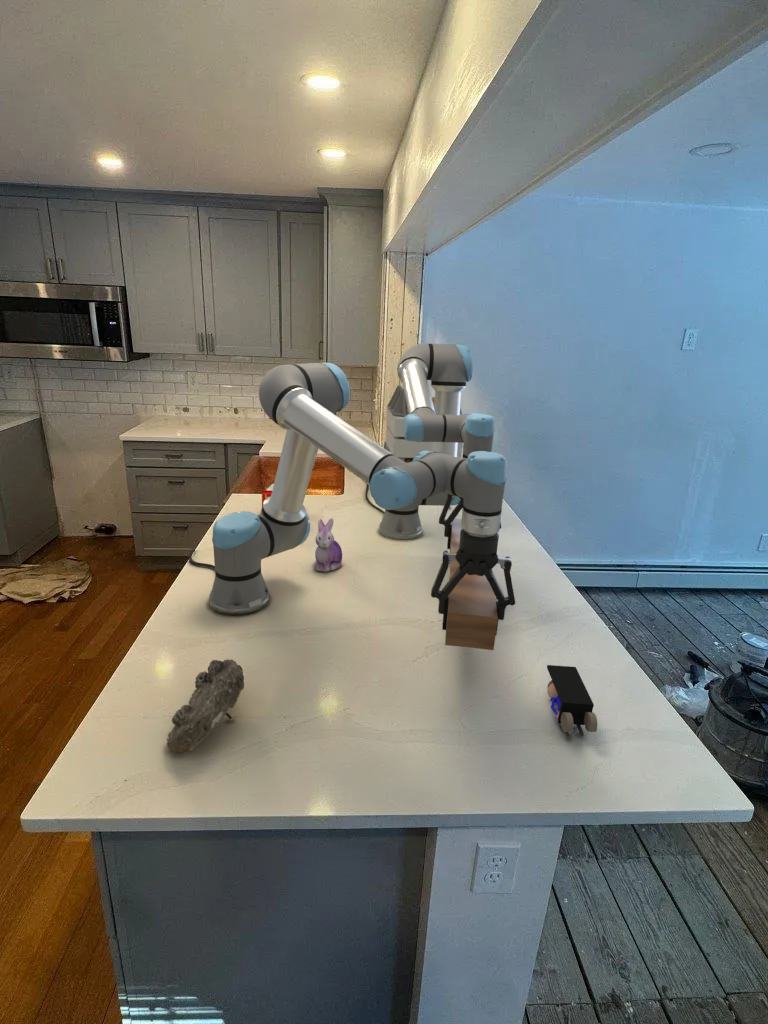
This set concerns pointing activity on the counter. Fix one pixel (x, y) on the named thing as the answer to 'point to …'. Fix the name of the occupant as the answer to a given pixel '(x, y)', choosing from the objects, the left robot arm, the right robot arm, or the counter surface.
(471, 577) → the slab
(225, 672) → the fossil
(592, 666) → the counter surface
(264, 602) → the left robot arm
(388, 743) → the counter surface
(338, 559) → the figurine
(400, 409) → the light grey slatted crate
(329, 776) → the counter surface
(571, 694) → the figurine character
